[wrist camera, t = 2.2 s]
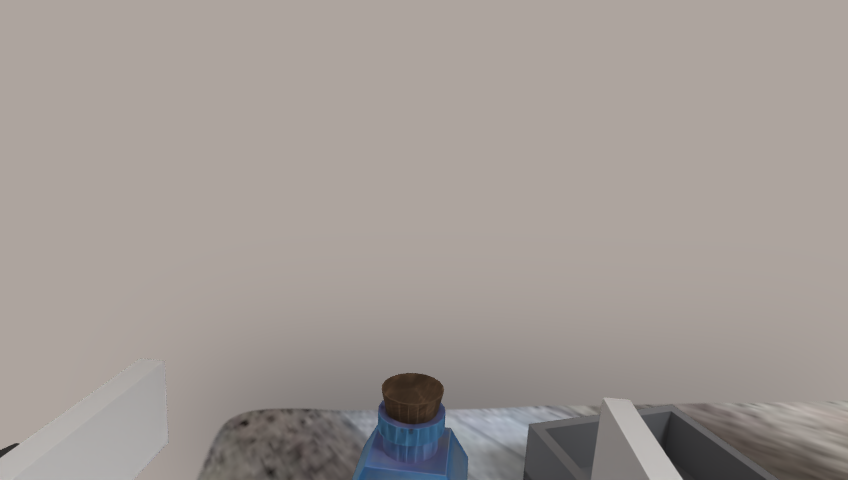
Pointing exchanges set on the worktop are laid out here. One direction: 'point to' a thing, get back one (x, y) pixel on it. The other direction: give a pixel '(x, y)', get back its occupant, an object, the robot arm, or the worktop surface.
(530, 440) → the bin
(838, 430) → the worktop surface
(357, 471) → the perfume bottle
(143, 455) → the robot arm
